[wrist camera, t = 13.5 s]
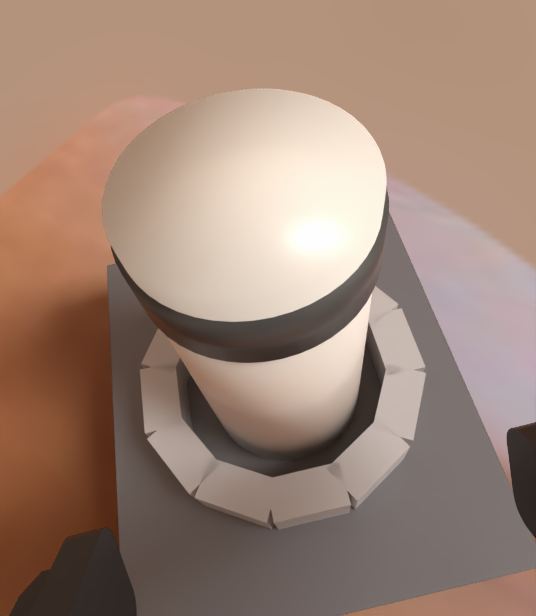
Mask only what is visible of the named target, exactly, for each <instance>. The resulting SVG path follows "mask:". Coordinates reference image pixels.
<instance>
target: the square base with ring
mask: <svg viewBox="0 0 536 616" xmlns="http://www.w3.org/2000/svg"><path fill="white" fill-rule="evenodd" d="M107 278H108V301H109V323H110V346H111V368H112V391H113V413H114V436H115V458H116V481H117V503H118V526H119V548H120V554H121V557H122V559H123V562H124V565H125V568H126V570H127V573H128V576H129V579H130V582H131V584H132V587H133V590H134V594H135V599H136V608H137V616H340V615H344V614H348V613H353V612H357V611H361V610H365V609H369V608H373V607H377V606H381V605H386V604H390V603H394V602H398V601H402V600H406V599H410V598H415V597H419V596H423V595H427V594H431V593H435V592H439V591H444V590H448V589H452V588H456V587H460V586H464V585H468V584H473V583H477V582H481V581H485V580H489V579H493V578H497V577H502V576H506V575H510V574H514V573H518V572H522V571H526V570H531V569H535V568H536V542H535V540H534V538H533V536H532V533H531V532H530V531H529V530H528V528H527V527H526V525H525V524H524V522H523V520H522V518H521V516H520V514H519V512H518V509H517V507H516V503H515V500H514V494H513V490H512V488H511V486H510V484H509V481H508V479H507V477H506V475H505V472H504V470H503V468H502V466H501V463H500V461H499V459H498V457H497V454H496V452H495V450H494V448H493V445H492V443H491V441H490V439H489V436H488V434H487V432H486V429H485V427H484V425H483V423H482V420H481V418H480V416H479V414H478V411H477V409H476V407H475V405H474V402H473V400H472V398H471V396H470V393H469V391H468V389H467V387H466V384H465V382H464V380H463V378H462V375H461V373H460V371H459V369H458V366H457V364H456V362H455V360H454V357H453V355H452V353H451V351H450V348H449V346H448V344H447V341H446V339H445V337H444V335H443V332H442V330H441V328H440V326H439V323H438V321H437V319H436V317H435V314H434V312H433V310H432V308H431V305H430V303H429V301H428V299H427V296H426V294H425V292H424V290H423V287H422V285H421V283H420V281H419V278H418V276H417V274H416V272H415V269H414V267H413V265H412V263H411V260H410V258H409V256H408V254H407V251H406V249H405V247H404V244H403V242H402V240H401V238H400V235H399V233H398V231H397V229H396V226H395V224H394V222H393V220H392V217H391V215H390V213H389V216H388V222H387V229H386V236H385V242H384V249H383V256H382V262H381V267H380V273H379V277H378V279H377V282H376V285H375V288H374V290H373V292H372V298H371V305H370V313H369V320H368V328H367V335H366V342H365V350H364V357H363V364H362V372H361V379H360V386H359V394H358V401H357V406H356V410H355V413H354V416H353V418H352V420H351V422H350V424H349V426H348V427H347V429H346V430H345V432H344V433H343V434H342V435H341V436H340V438H339V439H338V440H337V441H336V442H334V443H333V444H332V445H331V446H330V447H328V448H327V449H325V450H323V451H322V452H320V453H318V454H316V455H313V456H311V457H308V458H304V459H300V460H294V461H276V460H269V459H265V458H262V457H259V456H257V455H254V454H252V453H250V452H248V451H247V450H245V449H243V448H242V447H241V446H239V445H238V444H237V443H236V442H235V441H234V440H233V439H232V438H231V437H230V436H229V434H228V433H227V432H226V430H225V429H224V427H223V426H222V424H221V423H220V421H219V419H218V418H217V416H216V415H215V413H214V411H213V410H212V408H211V406H210V405H209V403H208V402H207V400H206V398H205V397H204V395H203V394H202V392H201V390H200V389H199V387H198V386H197V384H196V382H195V381H194V379H193V378H192V376H191V374H190V373H189V371H188V369H187V368H186V366H185V365H184V363H183V361H182V360H181V358H180V357H179V355H178V353H177V352H176V350H175V349H174V347H173V345H172V344H171V342H170V340H169V339H168V337H167V336H166V335H165V334H164V333H163V332H162V331H161V330H160V329H159V328H158V327H157V326H156V325H155V324H154V323H153V321H152V320H151V319H150V317H149V316H148V315H147V313H146V312H145V310H144V308H143V307H142V305H141V304H140V302H139V301H138V299H137V298H136V296H135V294H134V293H133V291H132V290H131V288H130V287H129V285H128V284H127V282H126V280H125V279H124V277H123V276H122V274H121V272H120V270H119V268H118V266H117V264H113V265H108V266H107Z"/></svg>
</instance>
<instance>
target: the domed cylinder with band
mask: <svg viewBox="0 0 536 616" xmlns="http://www.w3.org/2000/svg"><path fill="white" fill-rule="evenodd" d="M102 216H103V224H104V228H105V232H106V235H107V238H108V240H109V242H110V244H111V250H112V253H113V256H114V259H115V262H116V264H117V266H118V268H119V270H120V272H121V274H122V276H123V277H124V279H125V280H126V282H127V284H128V285H129V287H130V288H131V290H132V291H133V293H134V294H135V296H136V298H137V299H138V301H139V302H140V304H141V305H142V307H143V308H144V310H145V312H146V313H147V315H148V316H149V317H150V319H151V320H152V321H153V323H154V324H155V325H156V326H157V327H158V328H159V329H160V330H161V331H162V332H163V333H164V334H165V335H166V336H167V337H168V339H169V340H170V342H171V344H172V345H173V347H174V349H175V350H176V352H177V353H178V355H179V357H180V358H181V360H182V361H183V363H184V365H185V366H186V368H187V369H188V371H189V373H190V374H191V376H192V378H193V379H194V381H195V382H196V384H197V386H198V387H199V389H200V390H201V392H202V394H203V395H204V397H205V398H206V400H207V402H208V403H209V405H210V406H211V408H212V410H213V411H214V413H215V415H216V416H217V418H218V419H219V421H220V423H221V424H222V426H223V427H224V429H225V430H226V432H227V433H228V434H229V436H230V437H231V438H232V439H233V440H234V441H235V442H236V443H237V444H238V445H239V446H241V447H242V448H243V449H245V450H247V451H248V452H250V453H252V454H254V455H257V456H259V457H262V458H265V459H269V460H276V461H294V460H300V459H304V458H308V457H311V456H313V455H316V454H318V453H320V452H322V451H323V450H325V449H327V448H328V447H330V446H331V445H332V444H333V443H334V442H336V441H337V440H338V439H339V438H340V436H341V435H342V434H343V433H344V432H345V430H346V429H347V427H348V426H349V424H350V422H351V420H352V418H353V416H354V413H355V410H356V406H357V401H358V394H359V386H360V379H361V372H362V364H363V357H364V350H365V342H366V335H367V328H368V320H369V313H370V305H371V298H372V292H373V290H374V288H375V285H376V282H377V279H378V277H379V273H380V267H381V262H382V256H383V249H384V242H385V236H386V229H387V222H388V216H389V198H388V192H387V186H386V171H385V165H384V161H383V158H382V155H381V152H380V150H379V148H378V146H377V144H376V143H375V141H374V139H373V137H372V136H371V135H370V134H369V132H368V131H367V130H366V128H365V127H364V126H363V125H362V124H361V123H360V122H358V121H357V120H356V119H355V118H354V117H353V116H351V115H350V114H349V113H347V112H346V111H344V110H343V109H341V108H339V107H337V106H335V105H334V104H331V103H330V102H328V101H325V100H322V99H320V98H317V97H315V96H311V95H307V94H304V93H300V92H294V91H288V90H281V89H245V90H235V91H230V92H224V93H219V94H216V95H212V96H208V97H204V98H202V99H199V100H196V101H193V102H191V103H188V104H186V105H184V106H182V107H179V108H177V109H175V110H173V111H172V112H170V113H168V114H166V115H165V116H163V117H161V118H160V119H158V120H157V121H155V122H154V123H153V124H151V125H150V126H148V127H147V128H146V129H145V130H144V131H142V132H141V133H140V134H139V135H138V136H137V137H136V138H135V139H134V140H133V141H132V142H131V143H130V144H129V145H128V146H127V147H126V149H125V150H124V151H123V153H122V154H121V156H120V157H119V158H118V160H117V161H116V163H115V165H114V167H113V169H112V170H111V172H110V175H109V178H108V180H107V183H106V186H105V190H104V195H103V202H102Z"/></svg>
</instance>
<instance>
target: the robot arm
mask: <svg viewBox="0 0 536 616" xmlns="http://www.w3.org/2000/svg"><path fill="white" fill-rule="evenodd" d="M507 446H508V454H509V462H510V470H511V478H512V486H513V494H514V500H515V503H516V507H517V509H518V512H519V514H520V516H521V518H522V520H523V522H524V524H525V525H526V527H527V528H528V530H529V531H530V532H531V533H532V534H533V536H534V537H535V538H536V422H535V423H531V424H527V425H523V426H519V427H515V428H511V429H509V430H508V432H507ZM10 616H137V608H136V599H135V594H134V590H133V587H132V584H131V582H130V579H129V576H128V573H127V570H126V568H125V565H124V562H123V559H122V557H121V554H120V551H119V548H118V546H117V543H116V540H115V537H114V535H113V533H112V531H111V530H110V529H109V528H107V527H106V528H101V529H97V530H93V531H89V532H85V533H81V534H77V535H73V536H69V537H67V538H66V539H65V541H64V543H63V545H62V547H61V549H60V551H59V553H58V555H57V557H56V560H55V562H54V564H53V566H52V568H51V569H50V570H46V571H42V572H41V573H40V574H39V575H38V576H37V577H36V579H35V580H34V581H33V582H32V583H31V584H30V585H29V586H28V587H27V589H26V590H25V591H24V592H23V593H22V594H21V595H20V596H19V598H18V600H17V602H16V604H15V606H14V608H13V610H12V612H11V614H10Z"/></svg>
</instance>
